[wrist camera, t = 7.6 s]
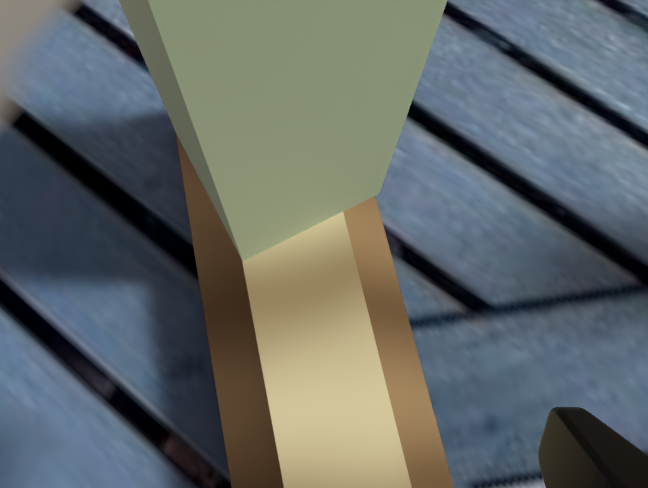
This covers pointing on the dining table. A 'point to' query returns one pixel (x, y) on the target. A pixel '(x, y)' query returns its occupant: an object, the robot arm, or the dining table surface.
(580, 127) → the dining table surface
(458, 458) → the dining table surface
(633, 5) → the dining table surface
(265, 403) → the birch ridge
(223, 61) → the sage post
